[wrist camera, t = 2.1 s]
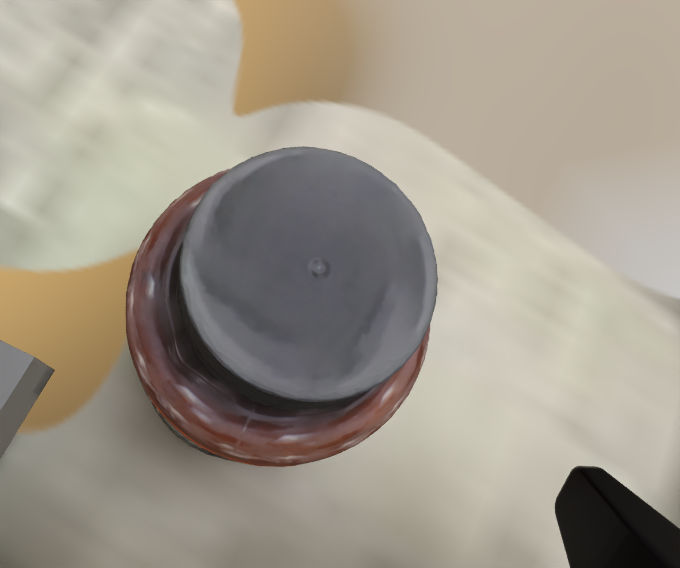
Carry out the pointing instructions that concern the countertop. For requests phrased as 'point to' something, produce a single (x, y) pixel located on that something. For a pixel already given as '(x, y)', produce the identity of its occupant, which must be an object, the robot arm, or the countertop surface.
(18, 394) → the bin
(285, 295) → the supplement bottle
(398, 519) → the countertop surface
